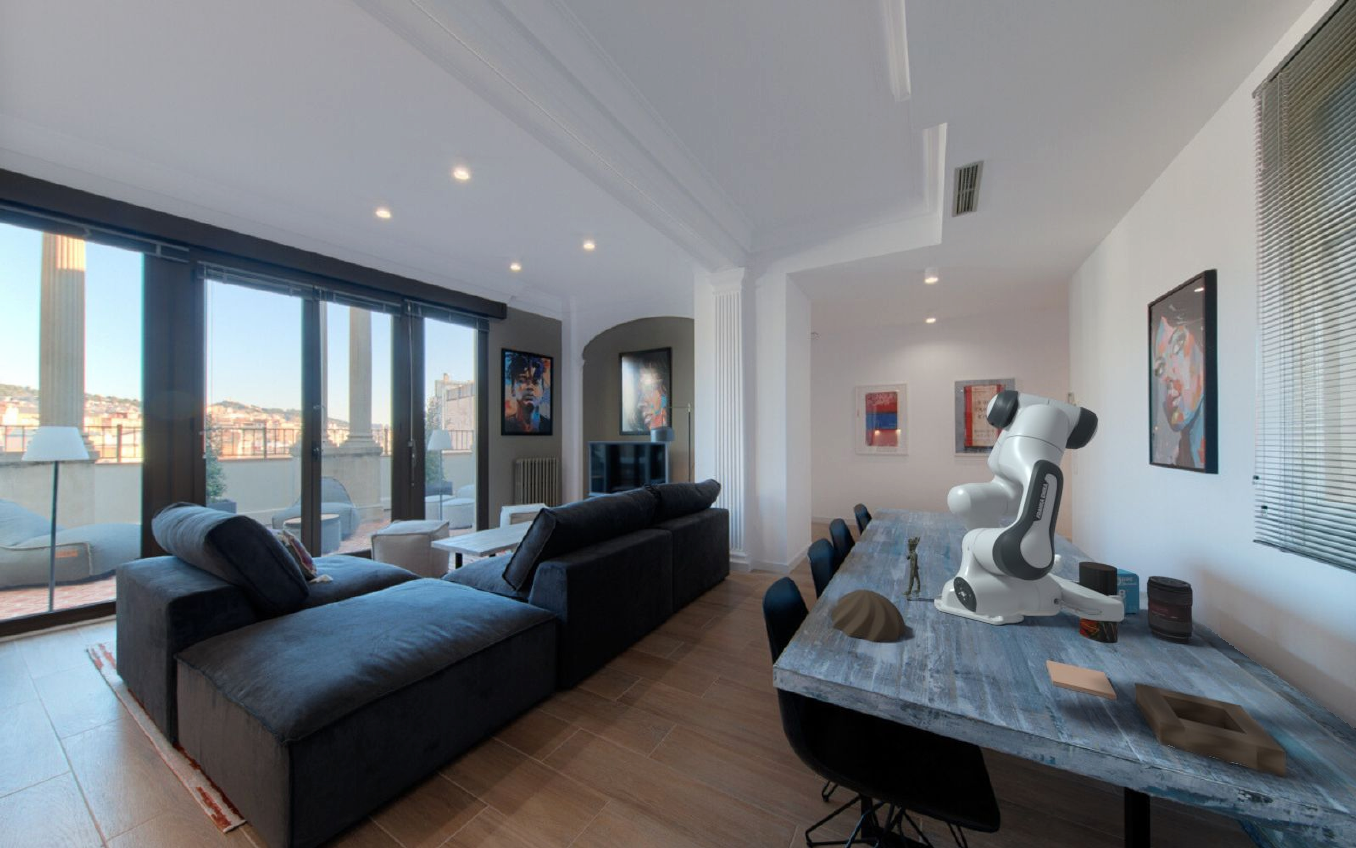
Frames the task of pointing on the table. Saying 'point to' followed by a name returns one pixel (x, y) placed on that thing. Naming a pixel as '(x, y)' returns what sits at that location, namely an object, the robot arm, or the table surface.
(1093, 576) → the deodorant
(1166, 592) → the camera lens
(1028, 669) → the table surface
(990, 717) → the table surface
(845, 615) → the decorative dome
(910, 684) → the table surface
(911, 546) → the statue
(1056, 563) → the figurine
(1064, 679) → the terracotta tile
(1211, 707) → the block
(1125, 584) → the data package
